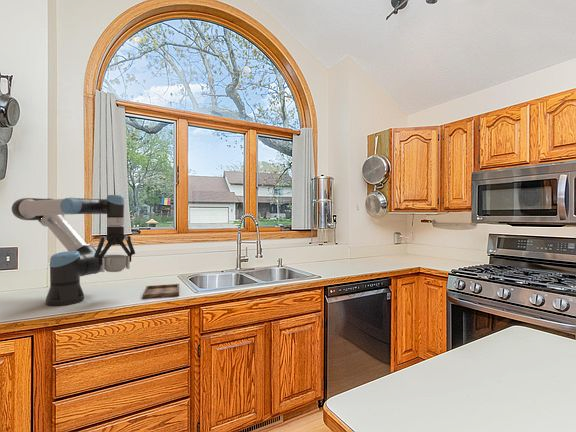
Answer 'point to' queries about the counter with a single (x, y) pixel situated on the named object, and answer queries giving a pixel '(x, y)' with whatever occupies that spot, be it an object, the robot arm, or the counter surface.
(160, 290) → the brown wooden tray
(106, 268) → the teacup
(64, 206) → the robot arm
